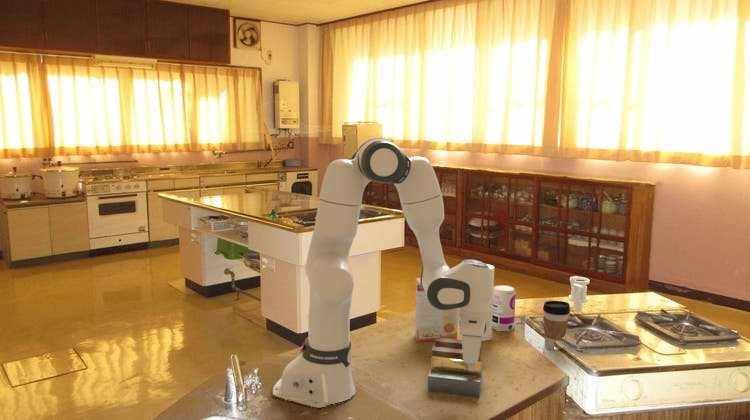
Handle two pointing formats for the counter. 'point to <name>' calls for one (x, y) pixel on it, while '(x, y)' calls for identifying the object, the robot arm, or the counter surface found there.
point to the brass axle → (454, 365)
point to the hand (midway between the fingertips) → (472, 365)
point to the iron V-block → (454, 383)
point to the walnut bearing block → (449, 348)
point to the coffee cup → (555, 321)
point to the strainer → (578, 292)
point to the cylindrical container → (489, 331)
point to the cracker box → (433, 319)
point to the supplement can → (503, 308)
